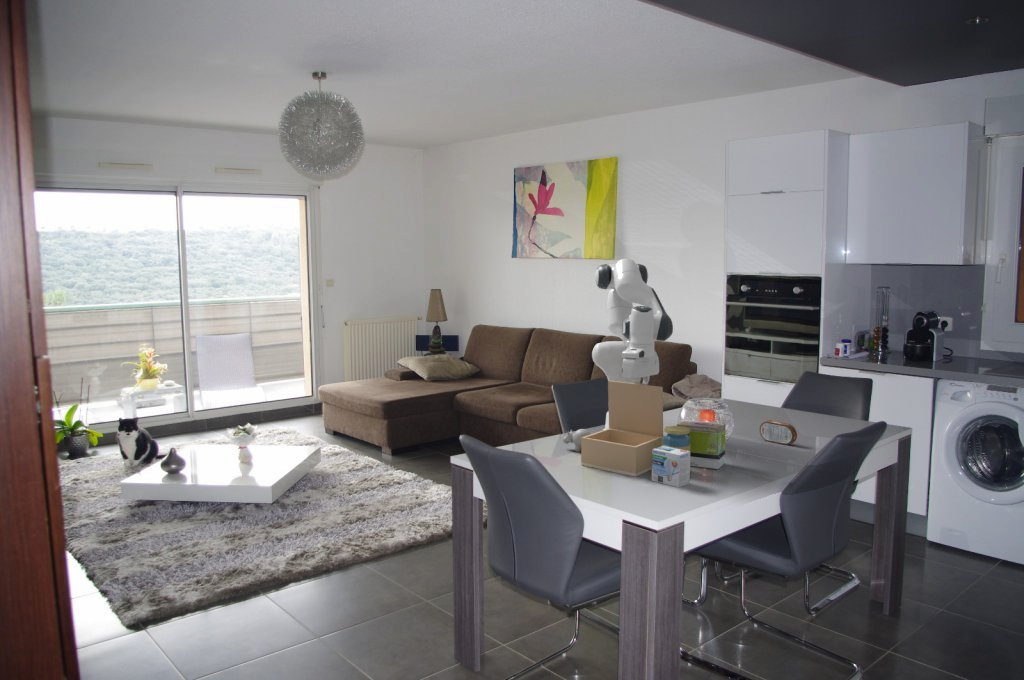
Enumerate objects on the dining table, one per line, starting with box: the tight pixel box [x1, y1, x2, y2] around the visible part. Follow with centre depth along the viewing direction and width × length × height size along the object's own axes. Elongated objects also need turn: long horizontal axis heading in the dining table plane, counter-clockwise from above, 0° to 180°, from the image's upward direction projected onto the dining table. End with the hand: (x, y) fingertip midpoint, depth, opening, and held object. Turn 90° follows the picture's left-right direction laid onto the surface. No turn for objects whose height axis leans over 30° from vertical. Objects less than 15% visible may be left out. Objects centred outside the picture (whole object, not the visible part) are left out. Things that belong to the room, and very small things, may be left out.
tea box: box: [676, 419, 726, 470], centre depth 260 cm, size 15×10×15 cm, turn 59°
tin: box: [759, 419, 798, 446], centre depth 290 cm, size 15×3×8 cm, turn 40°
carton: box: [580, 429, 663, 477], centre depth 260 cm, size 18×22×10 cm
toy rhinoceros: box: [562, 428, 592, 453], centre depth 281 cm, size 7×12×8 cm, turn 57°
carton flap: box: [607, 380, 664, 438], centre depth 267 cm, size 18×22×5 cm
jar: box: [662, 425, 691, 451], centre depth 251 cm, size 9×9×15 cm
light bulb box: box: [651, 445, 691, 488], centre depth 240 cm, size 11×7×11 cm, turn 45°
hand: (641, 389), depth 267 cm, fingers open, 3 cm apart
